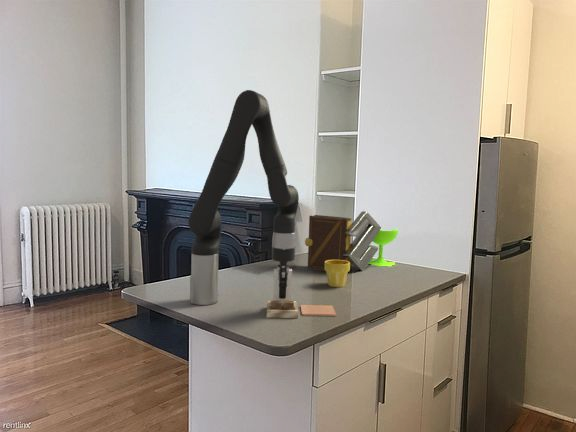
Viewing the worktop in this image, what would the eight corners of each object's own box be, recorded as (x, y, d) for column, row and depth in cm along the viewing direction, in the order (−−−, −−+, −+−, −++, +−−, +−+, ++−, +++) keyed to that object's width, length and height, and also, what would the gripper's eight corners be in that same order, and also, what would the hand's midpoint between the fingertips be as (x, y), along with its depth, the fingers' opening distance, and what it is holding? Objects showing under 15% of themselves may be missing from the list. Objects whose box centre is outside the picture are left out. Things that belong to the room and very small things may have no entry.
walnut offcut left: (270, 313, 158) (271, 302, 157) (270, 311, 160) (271, 300, 160) (281, 313, 158) (281, 302, 157) (281, 311, 160) (281, 300, 160)
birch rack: (266, 317, 156) (266, 310, 156) (266, 307, 167) (267, 300, 167) (298, 318, 156) (298, 310, 156) (296, 307, 167) (296, 301, 167)
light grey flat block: (272, 308, 163) (273, 270, 161) (272, 306, 165) (273, 268, 164) (291, 309, 163) (292, 270, 161) (290, 307, 165) (291, 269, 164)
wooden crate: (351, 271, 227) (353, 218, 224) (343, 275, 220) (345, 219, 217) (310, 265, 238) (311, 214, 236) (301, 268, 231) (302, 215, 229)
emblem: (370, 265, 242) (372, 209, 239) (379, 267, 239) (382, 210, 236) (338, 274, 221) (341, 212, 218) (348, 276, 217) (351, 213, 214)
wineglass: (383, 268, 235) (384, 231, 233) (357, 263, 247) (359, 227, 245) (402, 265, 246) (404, 229, 244) (377, 259, 258) (379, 225, 256)
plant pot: (318, 285, 200) (319, 261, 199) (334, 281, 207) (334, 258, 206) (338, 290, 193) (339, 265, 192) (354, 285, 200) (355, 262, 199)
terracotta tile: (302, 315, 159) (302, 313, 159) (300, 306, 169) (300, 305, 169) (336, 316, 159) (336, 314, 159) (332, 307, 169) (332, 305, 169)
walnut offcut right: (283, 313, 158) (283, 303, 157) (283, 311, 160) (283, 300, 160) (293, 313, 158) (294, 303, 158) (293, 311, 160) (293, 301, 160)
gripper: (272, 242, 169) (271, 291, 170) (272, 249, 155) (270, 302, 157) (294, 242, 169) (292, 291, 171) (296, 249, 155) (294, 303, 157)
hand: (282, 296), depth 164 cm, fingers closed on light grey flat block, 2 cm apart
